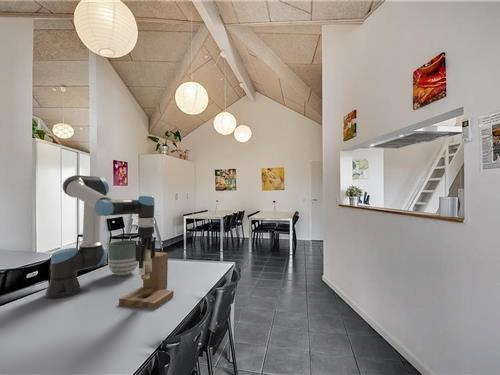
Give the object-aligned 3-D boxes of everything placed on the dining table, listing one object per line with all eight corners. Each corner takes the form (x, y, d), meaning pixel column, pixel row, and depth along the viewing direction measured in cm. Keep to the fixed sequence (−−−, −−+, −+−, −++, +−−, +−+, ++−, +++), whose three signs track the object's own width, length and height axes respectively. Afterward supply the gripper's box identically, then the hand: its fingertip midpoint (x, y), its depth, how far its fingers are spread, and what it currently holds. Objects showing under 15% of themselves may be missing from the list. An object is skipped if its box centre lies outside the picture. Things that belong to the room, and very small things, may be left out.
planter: (145, 273, 174) (146, 241, 175) (117, 281, 158) (118, 246, 159) (128, 268, 185) (129, 239, 186) (100, 275, 168) (101, 243, 169)
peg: (138, 279, 125) (138, 250, 125) (144, 276, 129) (145, 249, 130) (146, 280, 124) (146, 251, 124) (152, 277, 128) (152, 249, 129)
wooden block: (158, 293, 138) (159, 256, 139) (142, 291, 140) (142, 255, 141) (167, 286, 148) (168, 252, 149) (152, 285, 150) (153, 251, 151)
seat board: (118, 304, 123) (118, 298, 123) (141, 292, 138) (141, 287, 138) (154, 309, 118) (154, 302, 118) (173, 296, 133) (173, 290, 133)
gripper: (140, 228, 118) (139, 279, 117) (163, 224, 135) (162, 268, 134) (127, 228, 120) (126, 277, 119) (150, 224, 137) (150, 267, 136)
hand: (145, 272), depth 127 cm, fingers closed on peg, 4 cm apart
